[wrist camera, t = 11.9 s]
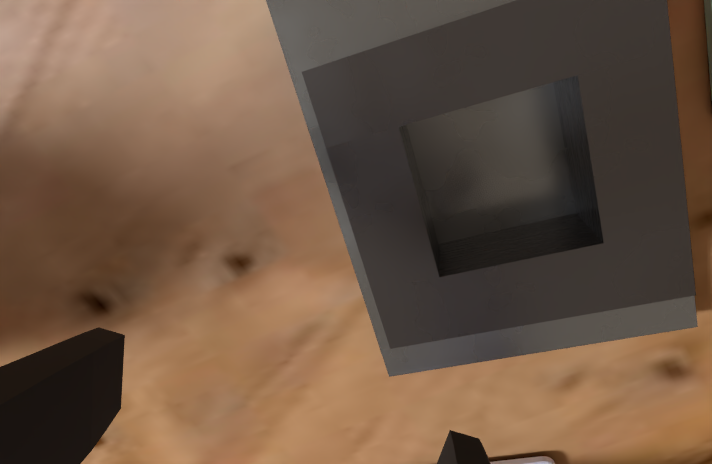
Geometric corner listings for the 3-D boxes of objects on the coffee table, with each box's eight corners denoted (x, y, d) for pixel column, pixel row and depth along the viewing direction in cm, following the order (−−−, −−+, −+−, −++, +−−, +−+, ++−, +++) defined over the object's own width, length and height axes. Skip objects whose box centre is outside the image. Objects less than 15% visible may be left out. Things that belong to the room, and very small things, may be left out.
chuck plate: (684, 313, 19) (747, 376, 15) (391, 363, 22) (382, 426, 18) (634, -152, 14) (706, -227, 10) (270, -12, 17) (225, -32, 13)
